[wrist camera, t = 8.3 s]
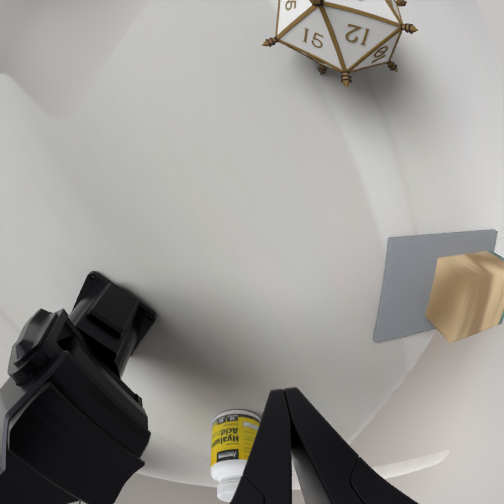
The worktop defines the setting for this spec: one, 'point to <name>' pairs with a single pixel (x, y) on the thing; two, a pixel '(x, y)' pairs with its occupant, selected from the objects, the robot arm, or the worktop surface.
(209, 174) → the worktop surface
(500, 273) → the oak block
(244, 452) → the supplement bottle
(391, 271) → the mat
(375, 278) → the worktop surface
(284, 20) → the game die
